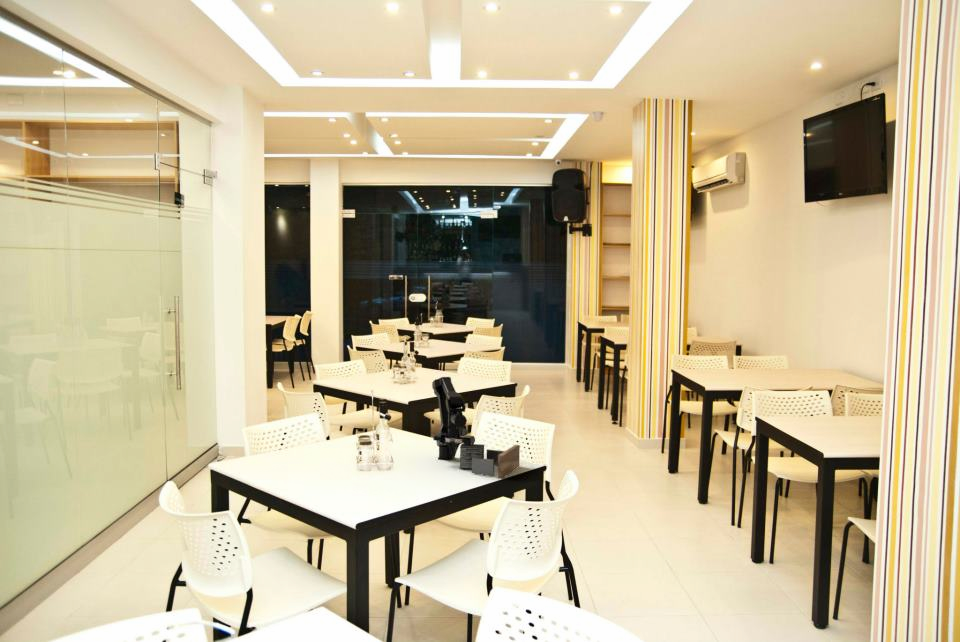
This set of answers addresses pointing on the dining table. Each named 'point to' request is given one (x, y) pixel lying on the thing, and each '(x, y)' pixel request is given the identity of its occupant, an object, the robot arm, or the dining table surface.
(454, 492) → the dining table surface
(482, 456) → the small box
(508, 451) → the shelf panel
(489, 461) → the bookend
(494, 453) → the bookend
